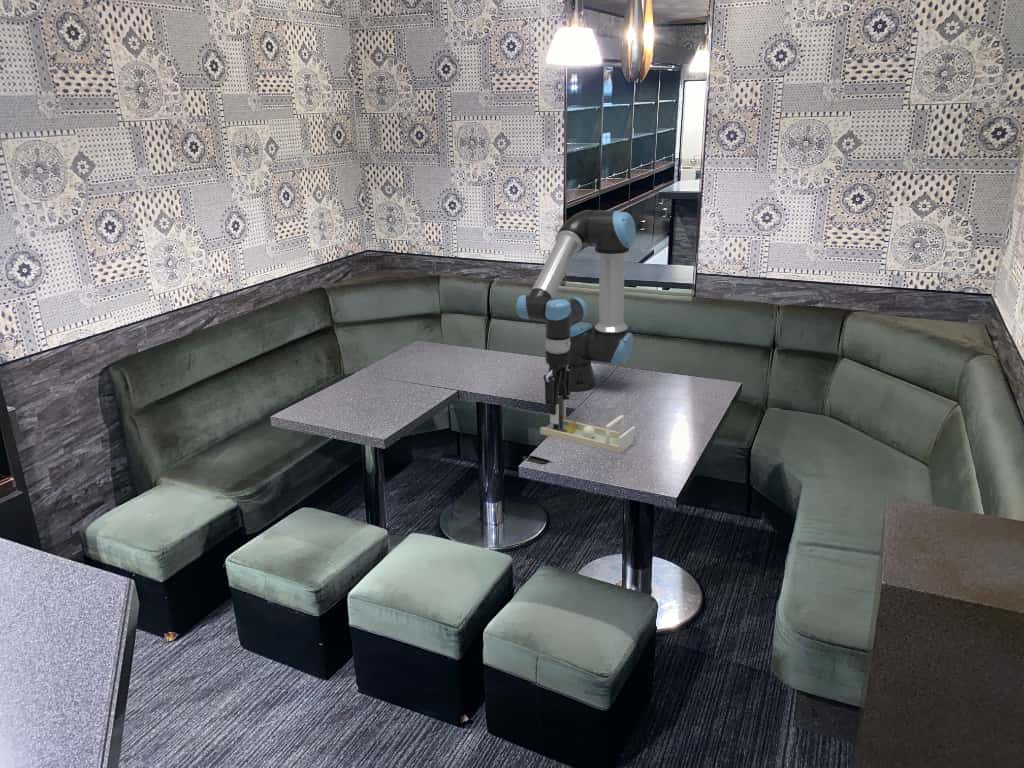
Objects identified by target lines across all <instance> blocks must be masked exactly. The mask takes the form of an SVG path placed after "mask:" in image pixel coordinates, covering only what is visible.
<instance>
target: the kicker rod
mask: <svg viewBox="0 0 1024 768" xmlns="http://www.w3.org/2000/svg"><path fill="white" fill-rule="evenodd" d="M557 404H559V424H553V423H549V424H547V425H546V426H545V428H549V429H553V430H557V431H561V432H565V433H570V434H571V433H573V432H574V431H576V422H577V421H575V420H574V421H573V420H572V421H573V422H571V423H570V424H568V425H566V424H563V394H561V393H558V399H557Z"/></svg>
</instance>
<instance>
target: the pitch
mask: <svg viewBox="0 0 1024 768" xmlns="http://www.w3.org/2000/svg"><path fill="white" fill-rule="evenodd" d="M624 419H625V415H624V414H620V415H618V416H617V417H616V418H614V419H613V420H612V421H610V422H609V423H607V424H605V428H604V427H599V426H595V425H591V424H586V423H582V422H577V421H575V422H576V431H574V432H573V433H571V434H570V433H565V432H561V431H557V430H553V429H549V428H545V427H546V426H545V427H544V426H540V427H539V428H540V429H539V431H540V432H539V434H540V435H544V436H548V437H552V438H556V439H560V440H564V441H568V442H572V443H576V444H580V445H583V446H588V447H591V448H592V447H593V448H596V449H600V450H604V451H608V452H612V453H616V454H622V453H623V452H625V451H626V450H627V449H628V448H629V447H630V446H632V445H633V444H634V443H635V442H636V426H634V425H633V426H631V427H630V428H629V429H628V430H626V431H625V432H624V422H625V421H624ZM571 422H573V420H568V419H565V420H563V424H566V425H568V424H570V423H571ZM618 423H619V429H618V431H616V430H612V428H613V427H614V426H615V425H617V424H618ZM585 426H592V427H593V428H594V430H595V434H594V436H593V437H592V438H586V437H584V436H583V435H582V430H583V428H584V427H585ZM550 435H551V436H550Z"/></svg>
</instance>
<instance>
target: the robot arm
mask: <svg viewBox="0 0 1024 768" xmlns="http://www.w3.org/2000/svg"><path fill="white" fill-rule="evenodd" d="M636 229H637V228H636V223H635V220H634V218H633V217H632V214H630V213H628V212H626V211H618V210H600V209H599V210H598V209H597V210H596V209H595V210H593V209H586V210H585V209H584V210H582V211H579V212H577V213H576V214H574V215H572V216H571V217H570V218H568V219H567V220H566V221H565V222H564V223H563V224H562V225H561V227H560V228H559V229H558V232H557V233H556V236H555V244H554V245H553V248H552V249H551V251H550V253H549V256H548V257H547V258H546V261H545V263H544V265H543V267H542V268H541V270H540V272H539V275H538V276H537V279H536V280H535V283H534V285H533V286H532V288H531V290H530V291H529V294H522V295H521V294H520V296H519V297H518V298H517V300H516V303H515V312H516V315H517V316H518V317H519V318H521V319H525V320H531V321H533V320H534V321H543V322H545V350H546V351H545V363H546V364H547V365H548V366H549V368H548V374H544V375H543V381H544V397H545V401H544V402H545V404H546V405H549V424H551V423H553V424H559V404H557V399H558V393H561V394H563V420H567V417H566V416H567V411H566V409H567V401H566V400H569V399H570V395H571V392H582V391H587V390H591V389H594V388H595V387H596V383H597V382H596V380H597V379H596V376H595V375H596V374H595V373H594V370H593V367H592V361H593V362H596V363H605V364H611V365H623V364H625V363H627V361H629V360H628V359H629V358H630V356H631V354H632V350H633V345H634V334H633V333H631V332H628V330H629V329H628V325H627V324H626V323H625V321H624V318H625V317H624V316H625V315H624V313H625V312H624V310H625V309H624V308H625V306H624V305H625V259H626V258H625V256H626V255H627V254H628V253H629V251H630V248H632V247H633V246H634V245H635V241H636V236H637V235H636V233H637V232H636V231H637V230H636ZM586 245H591V246H594V251H595V253H596V254H597V256H598V257H599V258H598V259H599V263H598V264H599V268H598V270H599V271H598V272H599V274H598V275H599V278H598V279H599V281H598V282H599V285H598V286H599V287H598V288H599V290H598V291H599V292H598V293H599V294H598V296H599V298H598V301H599V302H598V304H599V306H598V309H599V310H598V322H597V323H596V324H595V326H594V328H593V324H592V323H590V322H586V321H583V322H581V321H582V320H583V319H584V318H585V317H586V316H587V314H588V305H587V303H586V302H585V300H584V299H582V298H581V297H578V296H577V297H576V296H575V297H571V298H569V299H563V298H554V297H555V295H556V292H557V290H558V289H559V287H560V285H561V283H562V281H563V279H564V277H565V275H566V273H567V271H568V269H569V267H570V264H571V263H572V261H573V258H574V256H575V255H576V253H577V252H579V251H581V249H582V248H583V246H586Z"/></svg>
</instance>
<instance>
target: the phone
mask: <svg viewBox="0 0 1024 768" xmlns="http://www.w3.org/2000/svg"><path fill="white" fill-rule="evenodd" d="M530 455H531V454H527V453H526V454H523V456H522V461H523V460H524V461H526V459H528V460H527V461H526V462H530V463H534V462H535V463H534V464H539V465H546V464H548V463H549V462H551V460H549V459H545V458H542V457H538V456H533V455H531V456H530ZM529 456H530V457H529ZM528 457H529V458H528Z"/></svg>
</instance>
